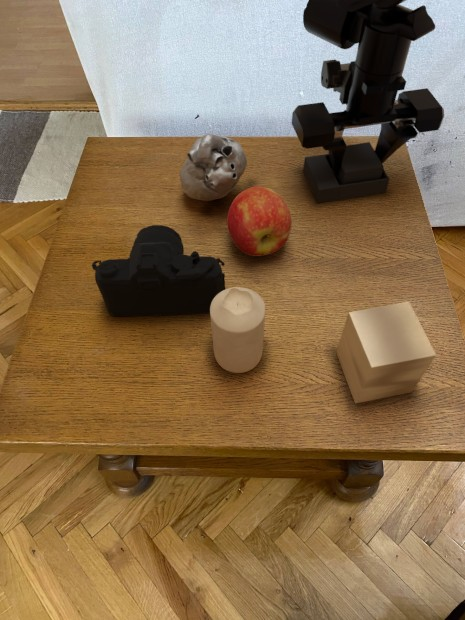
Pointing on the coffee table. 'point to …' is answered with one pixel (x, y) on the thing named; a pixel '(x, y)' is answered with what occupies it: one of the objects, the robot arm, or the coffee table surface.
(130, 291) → the film camera
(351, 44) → the robot arm
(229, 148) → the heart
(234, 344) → the candle
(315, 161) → the black tray
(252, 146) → the coffee table surface
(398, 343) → the beige wooden block
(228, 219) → the apple
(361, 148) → the black block
